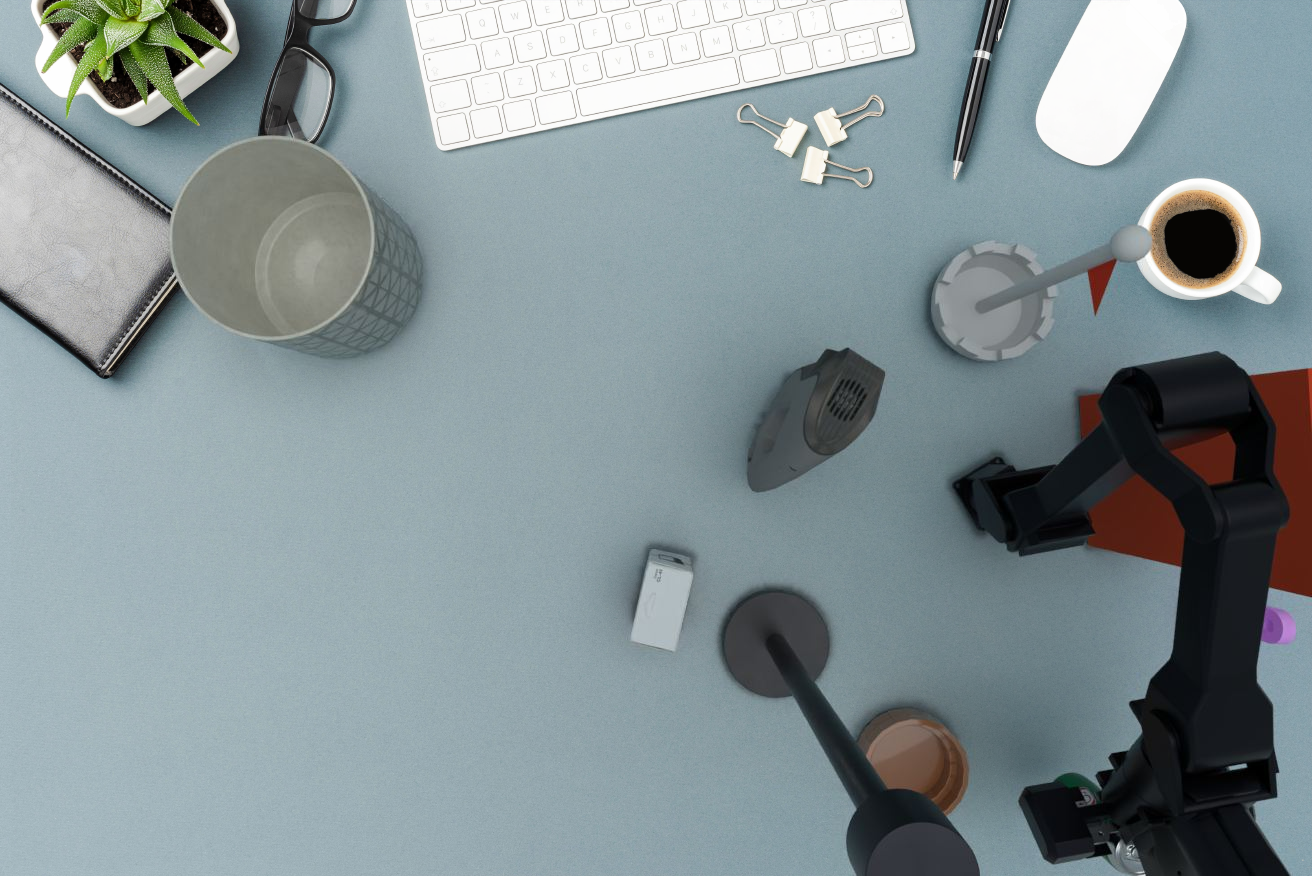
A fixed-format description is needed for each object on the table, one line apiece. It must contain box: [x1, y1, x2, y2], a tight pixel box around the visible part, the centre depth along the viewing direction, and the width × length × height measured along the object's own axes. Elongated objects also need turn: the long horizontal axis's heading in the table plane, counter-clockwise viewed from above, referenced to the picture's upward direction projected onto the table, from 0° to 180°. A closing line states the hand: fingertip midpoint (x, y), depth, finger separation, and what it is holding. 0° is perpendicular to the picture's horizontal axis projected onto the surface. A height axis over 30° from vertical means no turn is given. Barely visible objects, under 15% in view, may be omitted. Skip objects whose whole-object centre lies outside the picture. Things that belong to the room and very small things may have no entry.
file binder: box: [1078, 367, 1312, 598], centre depth 73 cm, size 8×17×32 cm, turn 3°
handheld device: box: [746, 346, 886, 493], centre depth 77 cm, size 6×15×25 cm, turn 147°
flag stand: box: [930, 224, 1153, 363], centre depth 74 cm, size 13×13×30 cm
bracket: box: [1261, 605, 1297, 645], centre depth 86 cm, size 13×6×7 cm, turn 177°
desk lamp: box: [722, 589, 981, 876], centre depth 64 cm, size 12×12×49 cm
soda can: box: [1052, 771, 1146, 876], centre depth 77 cm, size 5×5×12 cm
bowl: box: [856, 707, 970, 817], centre depth 87 cm, size 12×12×4 cm
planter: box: [168, 135, 424, 360], centre depth 80 cm, size 19×19×18 cm
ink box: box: [629, 548, 694, 653], centre depth 83 cm, size 9×5×12 cm, turn 167°
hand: (1106, 837), depth 76 cm, fingers closed on soda can, 5 cm apart
